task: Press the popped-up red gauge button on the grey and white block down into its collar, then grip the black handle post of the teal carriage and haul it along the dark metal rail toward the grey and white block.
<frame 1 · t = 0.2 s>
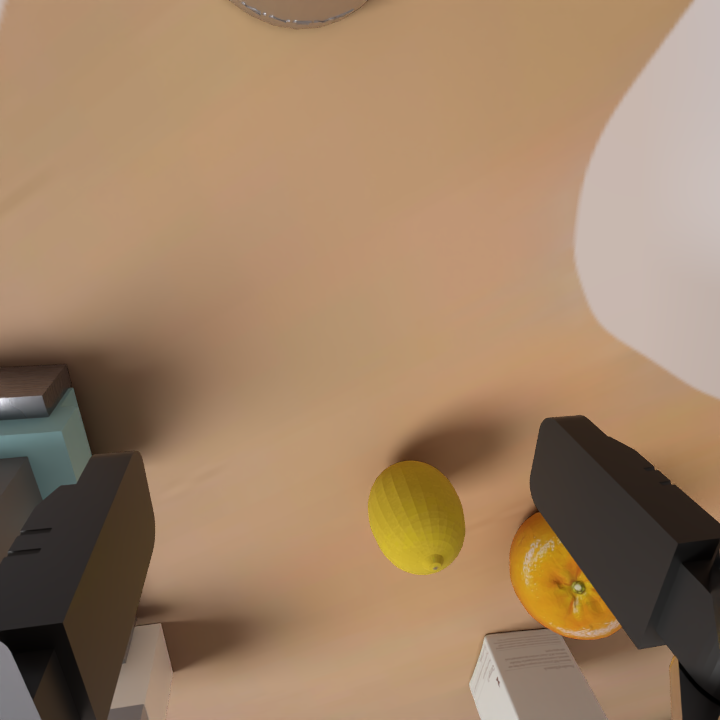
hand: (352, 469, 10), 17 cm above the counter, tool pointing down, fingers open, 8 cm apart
grey and white block: (110, 657, 36), on the counter
rail: (63, 515, 30), on the counter
supplement box: (510, 653, 46), on the counter
lemon: (398, 468, 33), on the counter
fruit: (543, 525, 38), on the counter
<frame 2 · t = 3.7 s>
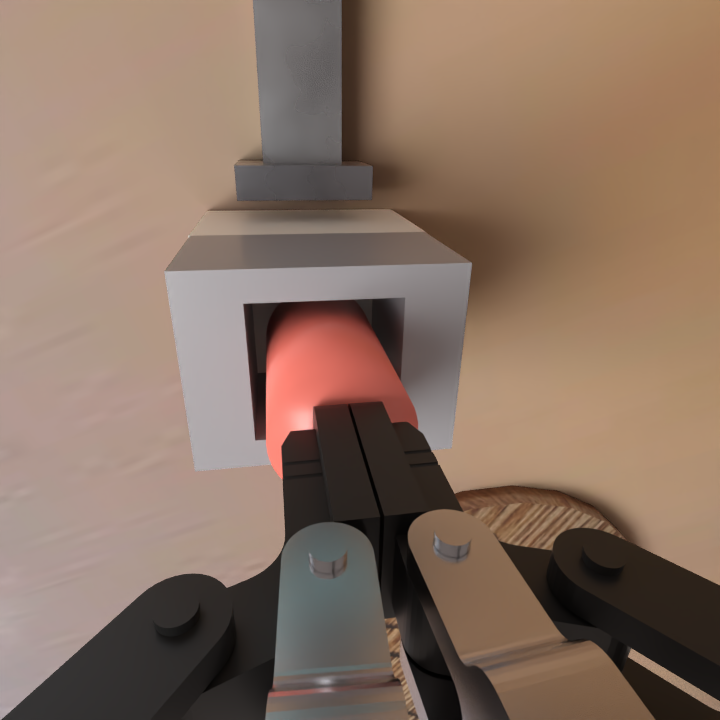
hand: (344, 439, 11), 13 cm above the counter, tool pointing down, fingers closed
grey and white block: (303, 277, 23), on the counter
gauge button: (328, 377, 14), point 10 cm above the counter, slide at 1.1 cm, touching gripper
trivet: (465, 618, 36), on the counter
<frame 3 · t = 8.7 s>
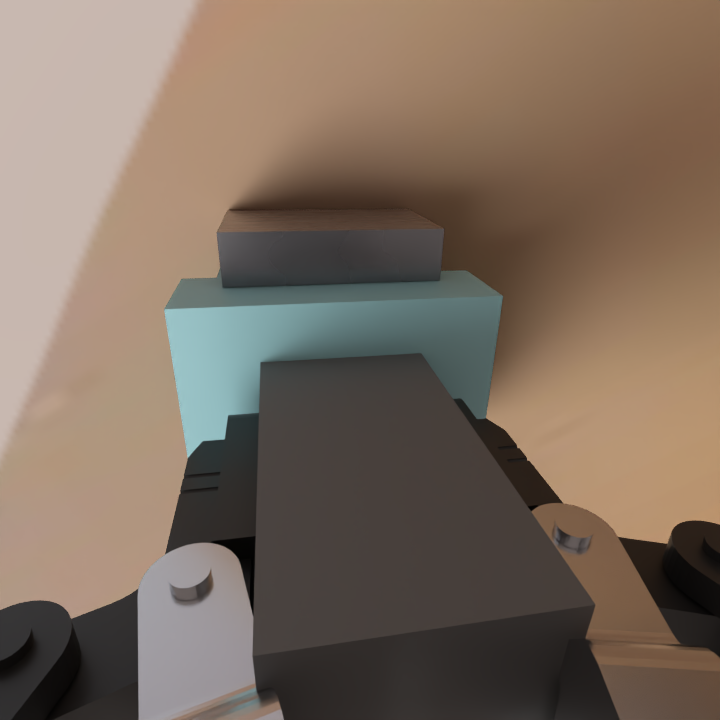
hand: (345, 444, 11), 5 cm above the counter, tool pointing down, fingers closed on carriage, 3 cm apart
carriage: (350, 457, 10), point 6 cm above the counter, slide at 0.0 cm, touching gripper
rail: (325, 500, 18), on the counter
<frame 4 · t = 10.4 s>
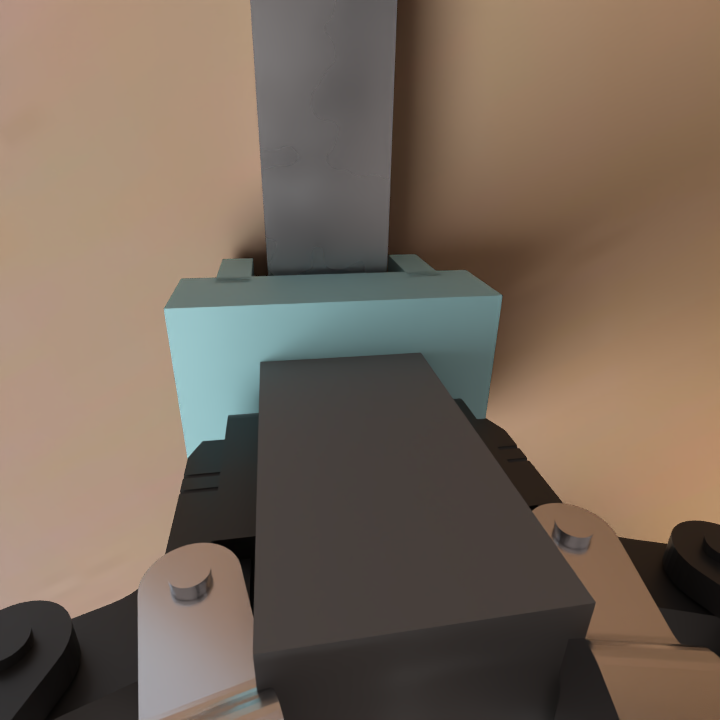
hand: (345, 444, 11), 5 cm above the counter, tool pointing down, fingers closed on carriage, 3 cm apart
carriage: (350, 456, 10), point 6 cm above the counter, slide at 6.9 cm, touching gripper
rail: (322, 322, 15), on the counter
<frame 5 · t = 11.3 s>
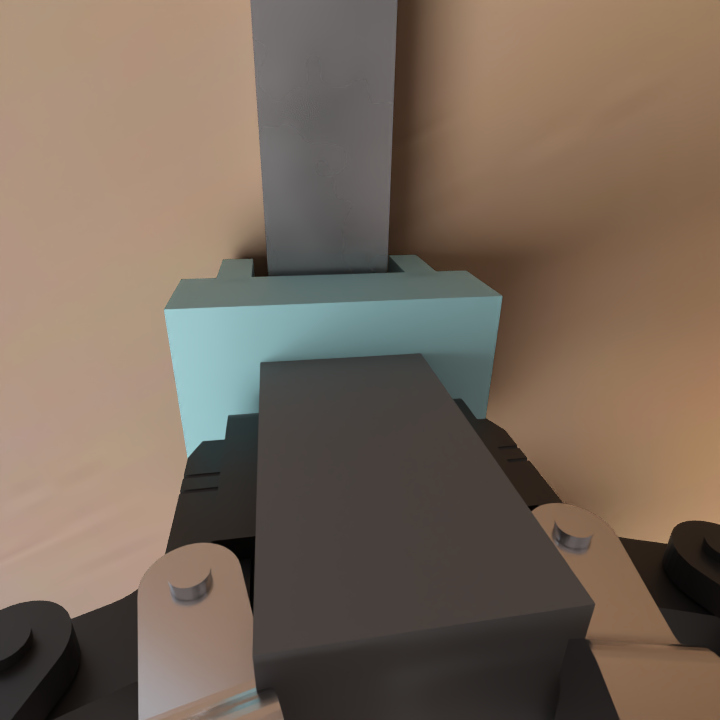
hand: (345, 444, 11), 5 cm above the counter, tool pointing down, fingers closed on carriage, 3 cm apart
carriage: (350, 457, 10), point 6 cm above the counter, slide at 10.9 cm, touching gripper
rail: (319, 183, 13), on the counter
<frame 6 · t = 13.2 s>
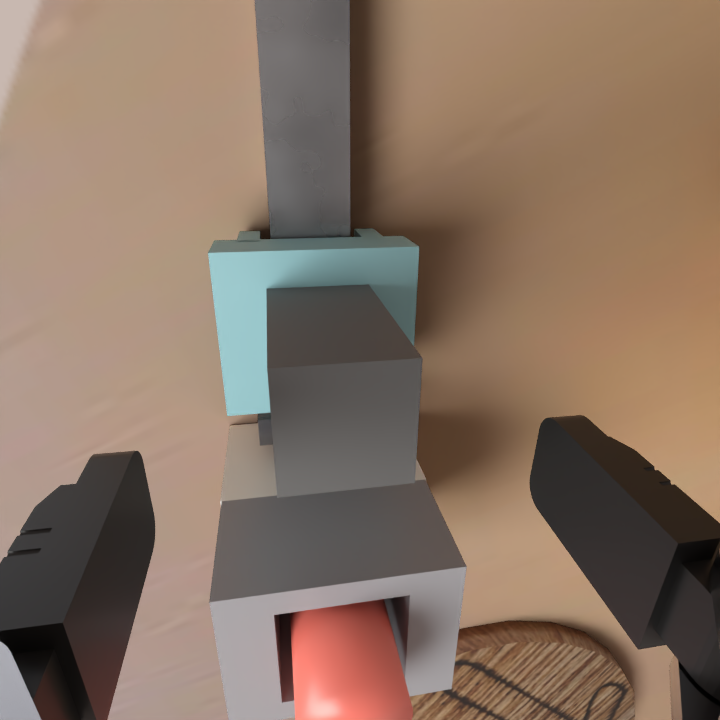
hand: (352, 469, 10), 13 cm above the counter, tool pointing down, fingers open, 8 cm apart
carriage: (323, 347, 17), point 6 cm above the counter, slide at 10.9 cm
grey and white block: (315, 469, 25), on the counter
rail: (305, 178, 20), on the counter
gauge button: (341, 631, 17), point 9 cm above the counter, slide at 2.1 cm
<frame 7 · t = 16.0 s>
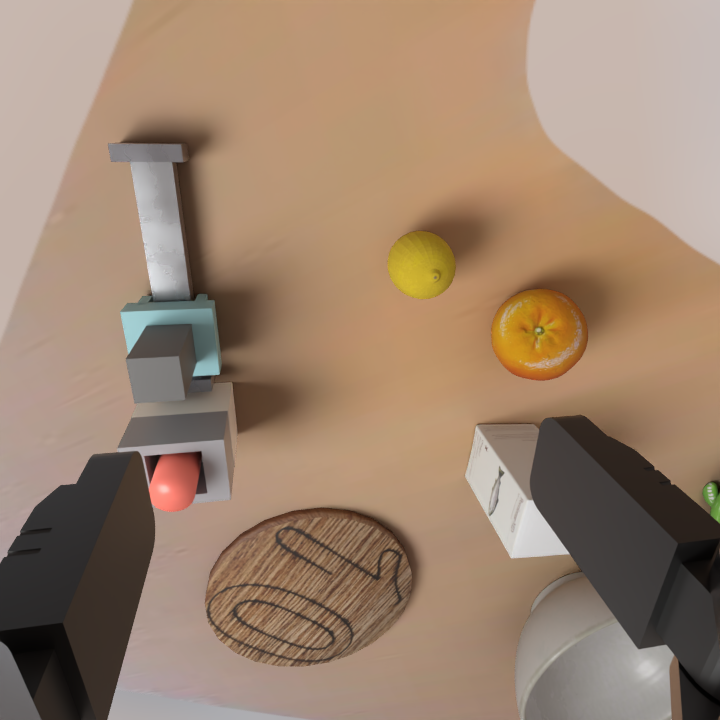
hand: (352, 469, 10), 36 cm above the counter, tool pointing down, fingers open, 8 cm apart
carriage: (169, 350, 40), point 6 cm above the counter, slide at 10.9 cm
decorative bowl: (569, 601, 72), on the counter
grey and white block: (193, 411, 49), on the counter
rail: (172, 271, 43), on the counter
supplement box: (497, 449, 57), on the counter
lemon: (408, 254, 46), on the counter
gauge button: (178, 469, 40), point 9 cm above the counter, slide at 2.1 cm
trivet: (310, 583, 62), on the counter
fruit: (517, 319, 51), on the counter
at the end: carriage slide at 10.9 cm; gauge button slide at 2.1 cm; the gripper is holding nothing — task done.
